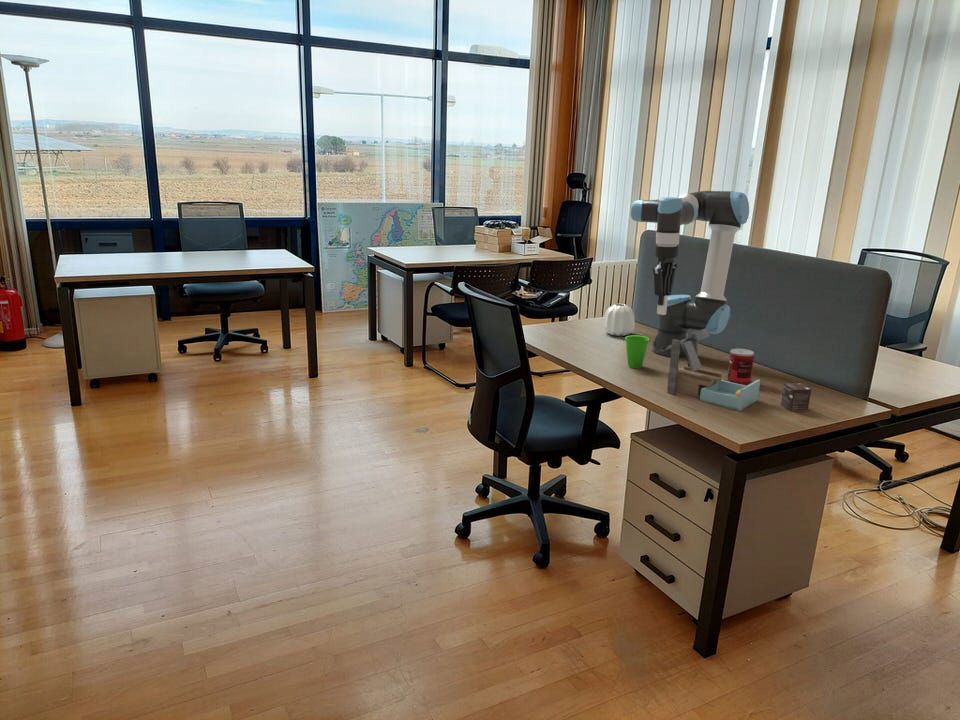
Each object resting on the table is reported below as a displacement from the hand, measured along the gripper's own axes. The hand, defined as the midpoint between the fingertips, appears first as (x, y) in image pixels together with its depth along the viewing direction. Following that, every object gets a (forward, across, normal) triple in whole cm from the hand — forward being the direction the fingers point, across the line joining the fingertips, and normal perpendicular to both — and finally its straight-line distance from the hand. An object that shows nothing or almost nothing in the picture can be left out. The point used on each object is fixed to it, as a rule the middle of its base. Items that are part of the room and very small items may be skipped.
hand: (661, 314), depth 234 cm
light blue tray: (+25, +1, +27) cm, 36 cm away
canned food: (+25, -21, +21) cm, 39 cm away
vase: (+25, -49, -46) cm, 72 cm away
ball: (+21, +1, +29) cm, 36 cm away
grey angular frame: (+25, +1, +14) cm, 28 cm away
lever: (+17, +1, +14) cm, 22 cm away
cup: (+25, -11, -15) cm, 31 cm away
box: (+25, -7, +45) cm, 52 cm away
